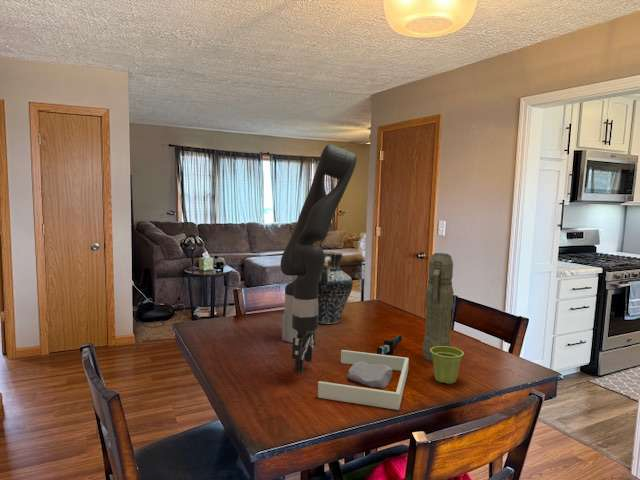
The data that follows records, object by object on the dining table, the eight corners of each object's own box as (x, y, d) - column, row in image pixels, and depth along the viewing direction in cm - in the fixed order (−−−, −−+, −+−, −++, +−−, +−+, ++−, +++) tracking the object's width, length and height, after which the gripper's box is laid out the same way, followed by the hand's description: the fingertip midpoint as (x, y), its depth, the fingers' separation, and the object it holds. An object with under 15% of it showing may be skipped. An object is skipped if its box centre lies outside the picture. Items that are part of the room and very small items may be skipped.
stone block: (384, 396, 121) (394, 376, 130) (383, 381, 120) (393, 362, 129) (344, 388, 127) (356, 370, 135) (343, 374, 125) (355, 356, 134)
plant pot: (442, 388, 123) (444, 358, 122) (422, 376, 131) (423, 347, 130) (469, 384, 126) (470, 354, 126) (447, 372, 135) (448, 344, 134)
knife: (380, 361, 138) (381, 347, 138) (371, 359, 140) (372, 345, 140) (408, 345, 165) (409, 333, 165) (400, 343, 167) (401, 331, 167)
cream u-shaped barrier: (317, 397, 115) (318, 382, 115) (341, 361, 141) (341, 349, 141) (398, 409, 109) (399, 394, 109) (408, 370, 135) (408, 357, 135)
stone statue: (419, 361, 143) (424, 254, 140) (425, 350, 154) (430, 251, 151) (447, 366, 140) (453, 256, 137) (451, 354, 151) (457, 253, 148)
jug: (309, 314, 198) (311, 248, 196) (352, 317, 196) (355, 250, 193) (301, 327, 178) (303, 253, 175) (349, 330, 175) (351, 255, 173)
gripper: (301, 305, 136) (299, 356, 138) (284, 317, 123) (283, 373, 124) (324, 308, 134) (322, 359, 136) (310, 320, 121) (308, 377, 122)
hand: (303, 366), depth 130 cm, fingers open, 8 cm apart
